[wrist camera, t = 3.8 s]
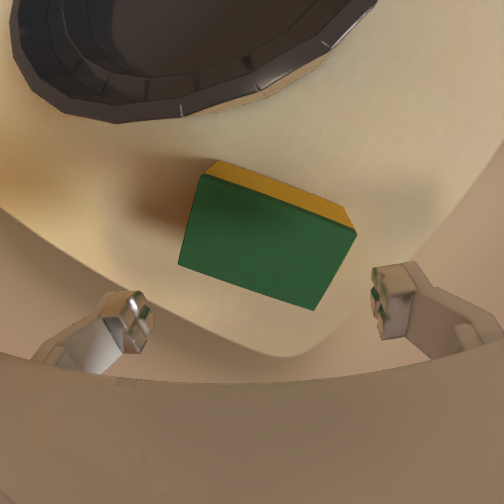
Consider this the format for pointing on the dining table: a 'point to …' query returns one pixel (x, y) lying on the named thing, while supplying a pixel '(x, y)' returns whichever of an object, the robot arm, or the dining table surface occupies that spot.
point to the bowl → (171, 52)
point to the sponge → (265, 235)
